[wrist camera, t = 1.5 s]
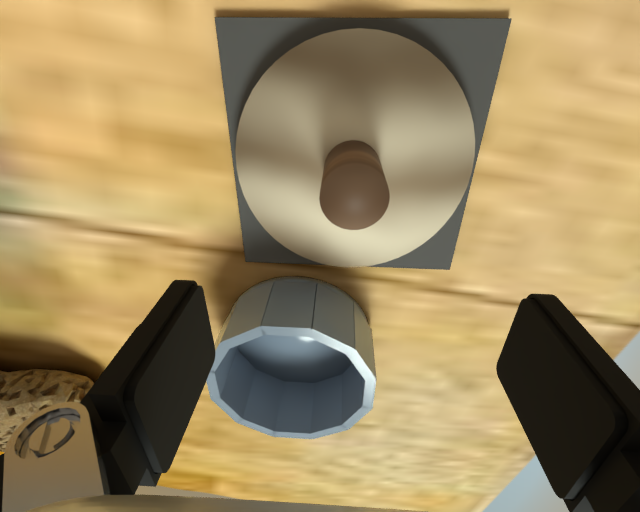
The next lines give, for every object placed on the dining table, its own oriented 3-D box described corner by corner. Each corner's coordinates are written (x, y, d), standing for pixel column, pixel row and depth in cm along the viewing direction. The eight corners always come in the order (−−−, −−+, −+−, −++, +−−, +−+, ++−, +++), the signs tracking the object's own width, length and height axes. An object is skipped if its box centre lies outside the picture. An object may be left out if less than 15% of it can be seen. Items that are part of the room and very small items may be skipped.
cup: (219, 273, 28) (191, 322, 23) (376, 279, 28) (383, 331, 23) (237, 377, 35) (219, 433, 30) (364, 384, 35) (367, 442, 30)
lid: (224, 28, 19) (181, 21, 14) (499, 29, 18) (558, 23, 13) (251, 256, 27) (229, 305, 22) (444, 263, 26) (468, 316, 21)
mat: (217, 17, 19) (214, 17, 19) (508, 19, 18) (511, 18, 18) (246, 259, 28) (245, 261, 27) (448, 266, 27) (449, 269, 26)
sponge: (-32, 388, 42) (111, 461, 40) (-122, 439, 34) (49, 530, 33) (-31, 299, 37) (131, 378, 36) (-134, 336, 30) (64, 436, 29)
